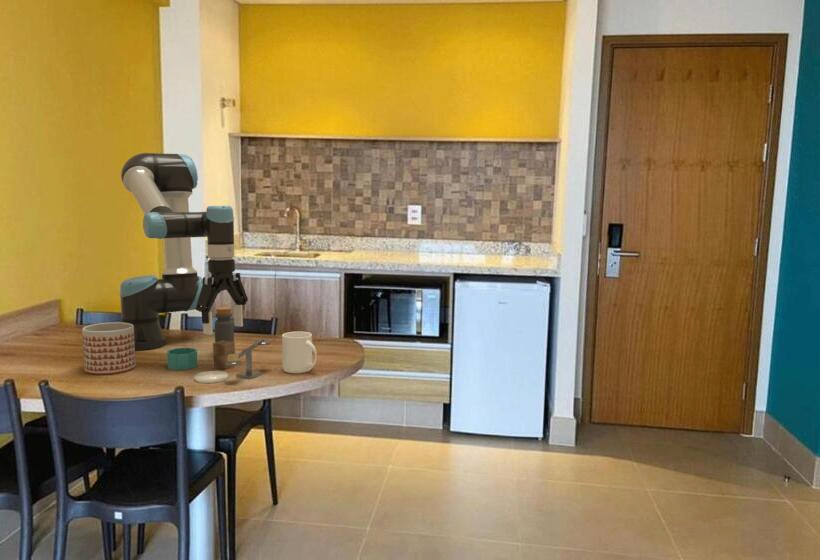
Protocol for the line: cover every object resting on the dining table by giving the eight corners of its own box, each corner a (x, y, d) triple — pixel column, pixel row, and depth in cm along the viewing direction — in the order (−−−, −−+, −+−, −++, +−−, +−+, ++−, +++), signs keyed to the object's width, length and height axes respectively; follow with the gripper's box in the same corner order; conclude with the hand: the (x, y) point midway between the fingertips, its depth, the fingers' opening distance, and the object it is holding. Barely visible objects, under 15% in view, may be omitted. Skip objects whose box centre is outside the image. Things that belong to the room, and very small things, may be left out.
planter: (103, 378, 185) (100, 333, 183) (74, 370, 192) (72, 327, 190) (145, 367, 196) (143, 325, 195) (117, 360, 203) (115, 320, 202)
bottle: (238, 352, 215) (236, 307, 213) (226, 356, 210) (224, 310, 208) (223, 350, 217) (222, 305, 215) (211, 354, 212) (210, 308, 210)
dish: (187, 380, 183) (187, 377, 182) (209, 372, 191) (209, 369, 191) (213, 384, 179) (213, 381, 179) (234, 376, 187) (234, 373, 187)
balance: (221, 382, 181) (220, 349, 180) (261, 367, 197) (260, 336, 196) (235, 385, 179) (234, 351, 178) (275, 369, 195) (274, 338, 194)
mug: (305, 377, 187) (305, 340, 186) (276, 370, 194) (275, 334, 193) (326, 371, 194) (326, 335, 192) (297, 364, 201) (297, 330, 199)
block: (213, 368, 196) (212, 343, 195) (223, 364, 200) (222, 340, 199) (225, 369, 194) (224, 344, 193) (235, 366, 198) (234, 341, 197)
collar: (161, 367, 196) (160, 352, 195) (181, 361, 203) (181, 346, 203) (183, 371, 192) (182, 355, 192) (203, 364, 200) (202, 349, 199)
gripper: (201, 262, 180) (204, 339, 183) (258, 255, 203) (260, 323, 205) (180, 261, 183) (183, 336, 186) (238, 255, 206) (240, 322, 208)
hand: (223, 330), depth 196 cm, fingers open, 13 cm apart
